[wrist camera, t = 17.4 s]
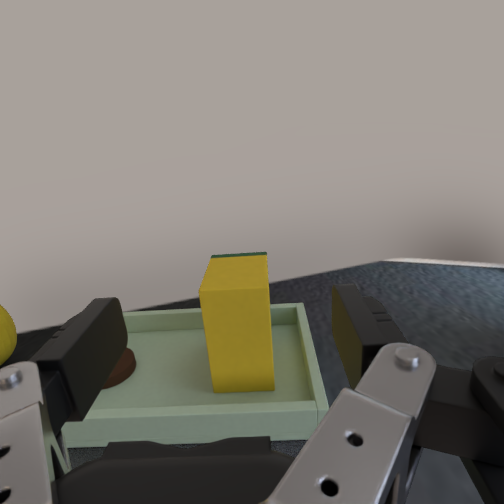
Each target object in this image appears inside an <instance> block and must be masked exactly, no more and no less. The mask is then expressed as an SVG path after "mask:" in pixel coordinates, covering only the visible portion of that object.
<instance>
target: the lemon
mask: <svg viewBox="0 0 504 504" xmlns="http://www.w3.org/2000/svg"><path fill="white" fill-rule="evenodd" d="M16 341H17V334H16V328H15V325H14V322H13V320H12V318H11V316H10V315H9V313H8V312H7V311H6V310H5V309H4V308H3V307H2V306H1V305H0V365H2V364H3V363H4V362H5V361H6V360H7V359H8V358H9V357H10V356H11V354H12V353H13V351H14V348H15V346H16Z"/></svg>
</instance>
